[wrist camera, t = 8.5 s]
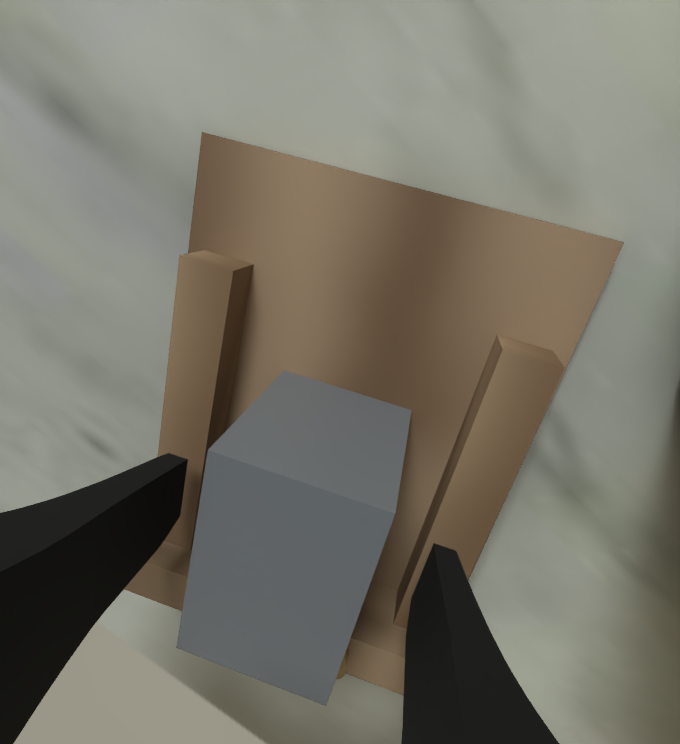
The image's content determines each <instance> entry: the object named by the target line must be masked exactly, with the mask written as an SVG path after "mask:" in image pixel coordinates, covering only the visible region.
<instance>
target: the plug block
mask: <svg viewBox="0 0 680 744" xmlns="http://www.w3.org/2000/svg"><path fill="white" fill-rule="evenodd" d="M411 412H412V410H409V409H406V408H403V407H400V406H397V405H393V404H390V403H387V402H384V401H381V400H378V399H374V398H371V397H368V396H365V395H362V394H359V393H355V392H352V391H349V390H346V389H343V388H339V387H336V386H333V385H330V384H327V383H324V382H320V381H317V380H314V379H311V378H308V377H305V376H301V375H298V374H295V373H292V372H289V371H286V370H284V371H283V372H282V373H281V374H280V375H279V376H278V377H277V378H276V379H275V380H274V381H273V382H272V383H271V384H270V386H269V387H268V388H267V389H266V390H265V391H264V392H263V393H262V394H261V395H260V396H259V397H258V398H257V399H256V400H255V401H254V402H253V403H252V404H251V405H250V406H249V408H248V409H247V410H246V411H245V412H244V413H243V414H242V415H241V416H240V417H239V418H238V419H237V420H236V421H235V422H234V423H233V424H232V425H231V426H230V427H229V428H228V430H227V431H226V432H225V433H224V434H223V435H222V436H221V437H220V438H219V439H218V440H217V441H216V442H215V443H214V444H213V445H212V446H211V447H210V448H209V449H208V452H207V459H206V465H205V471H204V478H203V484H202V490H201V496H200V503H199V509H198V515H197V522H196V528H195V534H194V541H193V547H192V553H191V559H190V566H189V572H188V578H187V585H186V591H185V597H184V603H183V610H182V616H181V622H180V629H179V635H178V641H177V648H179V649H181V650H184V651H186V652H189V653H191V654H194V655H197V656H199V657H202V658H204V659H207V660H209V661H212V662H214V663H217V664H220V665H222V666H225V667H227V668H230V669H232V670H235V671H238V672H240V673H243V674H245V675H248V676H250V677H253V678H255V679H258V680H261V681H263V682H266V683H268V684H271V685H273V686H276V687H278V688H281V689H284V690H286V691H289V692H291V693H294V694H296V695H299V696H302V697H304V698H307V699H309V700H312V701H314V702H317V703H319V704H322V705H325V706H326V705H327V702H328V699H329V697H330V694H331V691H332V688H333V685H334V683H335V680H336V677H337V674H338V672H339V669H340V666H341V663H342V660H343V658H344V655H345V652H346V649H347V647H348V644H349V641H350V638H351V635H352V633H353V630H354V627H355V624H356V622H357V619H358V616H359V613H360V610H361V608H362V605H363V602H364V599H365V597H366V594H367V591H368V588H369V585H370V583H371V580H372V577H373V574H374V572H375V569H376V566H377V563H378V560H379V558H380V555H381V552H382V549H383V547H384V544H385V541H386V538H387V535H388V533H389V530H390V527H391V524H392V522H393V519H394V516H395V513H396V506H397V500H398V494H399V487H400V481H401V475H402V468H403V462H404V456H405V450H406V443H407V437H408V431H409V424H410V418H411Z"/></svg>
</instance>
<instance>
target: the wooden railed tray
mask: <svg viewBox="0 0 680 744" xmlns="http://www.w3.org/2000/svg"><path fill="white" fill-rule="evenodd" d="M623 244H624V242H621V241H617V240H613V239H609V238H605V237H602V236H598V235H594V234H590V233H586V232H582V231H579V230H575V229H571V228H567V227H563V226H559V225H556V224H552V223H548V222H544V221H540V220H536V219H533V218H529V217H525V216H521V215H517V214H513V213H510V212H506V211H502V210H498V209H494V208H490V207H487V206H483V205H479V204H475V203H471V202H467V201H464V200H460V199H456V198H452V197H448V196H444V195H441V194H437V193H433V192H429V191H425V190H422V189H418V188H414V187H410V186H406V185H402V184H399V183H395V182H391V181H387V180H383V179H379V178H376V177H372V176H368V175H364V174H360V173H356V172H353V171H349V170H345V169H341V168H337V167H333V166H330V165H326V164H322V163H318V162H314V161H310V160H307V159H303V158H299V157H295V156H291V155H287V154H284V153H280V152H276V151H272V150H268V149H264V148H261V147H257V146H253V145H249V144H245V143H241V142H238V141H234V140H230V139H226V138H222V137H219V136H215V135H211V134H207V133H203V132H202V137H201V146H200V154H199V163H198V172H197V180H196V189H195V198H194V206H193V215H192V224H191V232H190V241H189V250H188V254H183V255H180V257H179V266H178V275H177V285H176V294H175V303H174V312H173V321H172V330H171V340H170V349H169V358H168V367H167V376H166V386H165V395H164V404H163V413H162V422H161V432H160V441H159V450H158V457H159V456H162V455H164V454H167V453H171V454H174V455H176V456H179V457H182V458H185V459H188V463H187V471H186V478H185V485H184V492H183V499H182V507H181V514H180V517H179V519H178V520H177V522H176V523H175V525H174V526H173V528H172V530H171V531H170V533H169V534H168V536H167V537H166V539H165V540H164V541H163V543H162V544H161V546H160V547H159V548H158V550H157V551H156V552H155V553H154V554H153V555H152V557H151V558H150V559H149V560H148V561H147V563H146V564H145V565H144V566H143V567H142V568H141V570H140V571H139V572H138V573H137V574H136V575H135V577H134V578H133V579H132V580H131V581H130V582H129V584H128V585H127V586H126V587H125V588H124V589H125V590H128V591H130V592H133V593H135V594H138V595H141V596H143V597H146V598H149V599H151V600H154V601H157V602H159V603H162V604H164V605H167V606H170V607H172V608H175V609H178V610H180V611H182V610H183V603H184V597H185V591H186V585H187V578H188V572H189V566H190V559H191V553H192V547H193V541H194V534H195V528H196V522H197V515H198V509H199V503H200V496H201V490H202V484H203V478H204V471H205V465H206V459H207V452H208V449H209V448H210V447H211V446H212V445H213V444H214V443H215V442H216V441H217V440H218V439H219V438H220V437H221V436H222V435H223V434H224V433H225V432H226V431H227V430H228V428H229V427H230V426H231V425H232V424H233V423H234V422H235V421H236V420H237V419H238V418H239V417H240V416H241V415H242V414H243V413H244V412H245V411H246V410H247V409H248V408H249V406H250V405H251V404H252V403H253V402H254V401H255V400H256V399H257V398H258V397H259V396H260V395H261V394H262V393H263V392H264V391H265V390H266V389H267V388H268V387H269V386H270V384H271V383H272V382H273V381H274V380H275V379H276V378H277V377H278V376H279V375H280V374H281V373H282V372H283V371H284V370H286V371H289V372H292V373H295V374H298V375H301V376H305V377H308V378H311V379H314V380H317V381H320V382H324V383H327V384H330V385H333V386H336V387H339V388H343V389H346V390H349V391H352V392H355V393H359V394H362V395H365V396H368V397H371V398H374V399H378V400H381V401H384V402H387V403H390V404H393V405H397V406H400V407H403V408H406V409H409V410H412V412H411V418H410V424H409V431H408V437H407V443H406V450H405V456H404V462H403V468H402V475H401V481H400V487H399V494H398V500H397V506H396V513H395V516H394V519H393V522H392V524H391V527H390V530H389V533H388V535H387V538H386V541H385V544H384V547H383V549H382V552H381V555H380V558H379V560H378V563H377V566H376V569H375V572H374V574H373V577H372V580H371V583H370V585H369V588H368V591H367V594H366V597H365V599H364V602H363V605H362V608H361V610H360V613H359V616H358V619H357V622H356V624H355V627H354V630H353V633H352V635H351V638H350V641H349V644H348V647H347V649H346V652H345V655H344V658H343V660H342V663H341V666H340V669H339V672H338V674H337V677H336V679H339V678H341V677H343V676H344V674H345V673H346V674H349V675H352V676H354V677H357V678H360V679H362V680H365V681H368V682H370V683H373V684H375V685H378V686H381V687H383V688H386V689H389V690H391V691H394V692H397V693H399V694H402V695H404V672H405V644H406V631H407V624H408V617H409V610H410V604H411V598H412V595H413V593H414V590H415V588H416V585H417V583H418V580H419V578H420V576H421V573H422V571H423V568H424V566H425V563H426V561H427V558H428V556H429V553H430V551H431V549H432V546H433V544H434V543H435V544H438V545H441V546H444V547H447V548H450V549H453V550H456V552H457V554H458V556H459V558H460V561H461V564H462V566H463V569H464V572H465V574H466V577H467V579H468V580H469V577H470V575H471V573H472V571H473V569H474V567H475V564H476V562H477V560H478V558H479V556H480V554H481V551H482V549H483V547H484V545H485V543H486V541H487V538H488V536H489V534H490V532H491V530H492V528H493V525H494V523H495V521H496V519H497V517H498V515H499V512H500V510H501V508H502V506H503V504H504V502H505V499H506V497H507V495H508V493H509V491H510V489H511V486H512V484H513V482H514V480H515V478H516V476H517V474H518V471H519V469H520V467H521V465H522V463H523V461H524V458H525V456H526V454H527V452H528V450H529V448H530V445H531V443H532V441H533V439H534V437H535V435H536V432H537V430H538V428H539V426H540V424H541V422H542V419H543V417H544V415H545V413H546V411H547V409H548V406H549V404H550V402H551V400H552V398H553V396H554V393H555V391H556V389H557V387H558V385H559V383H560V380H561V378H562V376H563V374H564V372H565V370H566V367H567V365H568V363H569V361H570V359H571V357H572V354H573V352H574V350H575V348H576V346H577V344H578V341H579V339H580V337H581V335H582V333H583V331H584V328H585V326H586V324H587V322H588V320H589V318H590V315H591V313H592V311H593V309H594V307H595V305H596V302H597V300H598V298H599V296H600V294H601V292H602V289H603V287H604V285H605V283H606V281H607V279H608V276H609V274H610V272H611V270H612V268H613V266H614V263H615V261H616V259H617V257H618V255H619V253H620V251H621V248H622V246H623Z"/></svg>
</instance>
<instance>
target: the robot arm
mask: <svg viewBox="0 0 680 744" xmlns="http://www.w3.org/2000/svg"><path fill="white" fill-rule="evenodd" d="M187 463H188V459H185V458H182V457H179V456H176V455H174V454H171V453H167V454H164V455H162V456H159V457H157V458H155V459H152V460H150V461H148V462H145V463H143V464H141V465H139V466H136V467H134V468H132V469H129V470H127V471H125V472H122V473H120V474H117V475H115V476H113V477H110V478H108V479H106V480H103V481H101V482H98V483H95V484H93V485H90V486H87V487H84V488H82V489H79V490H76V491H74V492H71V493H68V494H66V495H63V496H60V497H57V498H54V499H50V500H47V501H44V502H40V503H37V504H34V505H30V506H27V507H23V508H19V509H15V510H11V511H7V512H3V513H0V744H13V743H14V742H15V740H16V738H17V737H18V735H19V734H20V732H21V731H22V729H23V728H24V726H25V725H26V723H27V721H28V720H29V718H30V717H31V715H32V714H33V712H34V711H35V709H36V708H37V706H38V705H39V703H40V702H41V700H42V699H43V697H44V696H45V694H46V693H47V691H48V690H49V688H50V687H51V685H52V684H53V682H54V681H55V679H56V678H57V676H58V675H59V673H60V672H61V671H62V669H63V668H64V666H65V665H66V663H67V662H68V660H69V659H70V657H71V656H72V655H73V653H74V652H75V651H76V649H77V647H78V646H79V645H80V643H81V642H82V640H83V639H84V638H85V636H86V635H87V633H88V632H89V631H90V629H91V628H92V627H93V625H94V624H95V623H96V622H97V620H98V619H99V618H100V617H101V615H102V614H103V613H104V611H105V610H106V609H107V608H108V607H109V606H110V604H111V603H112V602H113V601H114V600H115V599H116V597H117V596H118V595H119V594H120V593H121V592H122V591H123V589H124V588H125V587H126V586H127V585H128V584H129V582H130V581H131V580H132V579H133V578H134V577H135V575H136V574H137V573H138V572H139V571H140V570H141V568H142V567H143V566H144V565H145V564H146V563H147V561H148V560H149V559H150V558H151V557H152V555H153V554H154V553H155V552H156V551H157V550H158V548H159V547H160V546H161V544H162V543H163V541H164V540H165V539H166V537H167V536H168V534H169V533H170V531H171V530H172V528H173V526H174V525H175V523H176V522H177V520H178V519H179V517H180V514H181V507H182V499H183V492H184V485H185V478H186V471H187ZM402 744H559V743H558V741H557V740H556V739H555V737H554V736H553V734H552V733H551V732H550V730H549V729H548V727H547V726H546V724H545V723H544V722H543V720H542V719H541V717H540V716H539V714H538V713H537V712H536V710H535V709H534V707H533V705H532V704H531V702H530V701H529V699H528V698H527V696H526V695H525V693H524V691H523V690H522V688H521V687H520V685H519V683H518V682H517V680H516V678H515V677H514V675H513V673H512V672H511V670H510V668H509V666H508V665H507V663H506V661H505V659H504V657H503V655H502V653H501V651H500V650H499V648H498V646H497V644H496V642H495V640H494V638H493V636H492V634H491V632H490V630H489V628H488V626H487V623H486V621H485V619H484V617H483V615H482V612H481V610H480V608H479V606H478V603H477V601H476V599H475V596H474V594H473V592H472V589H471V587H470V584H469V582H468V579H467V577H466V574H465V572H464V569H463V566H462V564H461V561H460V558H459V556H458V554H457V552H456V550H453V549H450V548H447V547H444V546H441V545H438V544H435V543H434V544H433V546H432V549H431V551H430V553H429V556H428V558H427V561H426V563H425V566H424V568H423V571H422V573H421V576H420V578H419V580H418V583H417V585H416V588H415V590H414V593H413V595H412V598H411V604H410V610H409V617H408V624H407V631H406V644H405V672H404V705H403V731H402Z"/></svg>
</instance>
